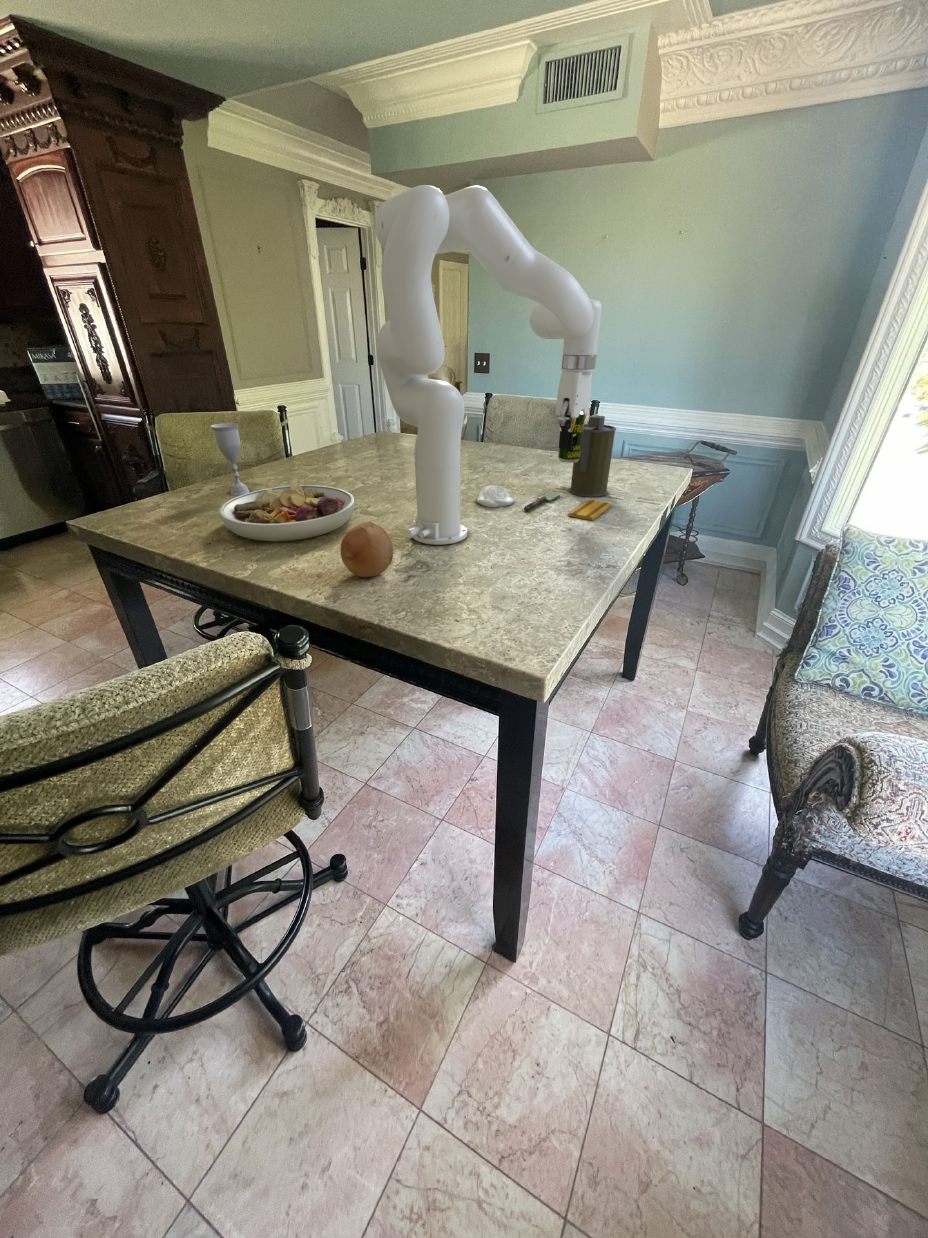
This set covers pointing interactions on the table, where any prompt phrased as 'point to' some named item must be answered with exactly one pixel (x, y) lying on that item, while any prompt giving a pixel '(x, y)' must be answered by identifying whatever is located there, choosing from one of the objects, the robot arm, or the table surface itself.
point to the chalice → (230, 450)
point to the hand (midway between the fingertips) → (570, 445)
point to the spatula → (542, 500)
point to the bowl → (288, 512)
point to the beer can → (574, 441)
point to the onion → (366, 550)
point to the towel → (590, 509)
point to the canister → (593, 459)
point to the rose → (494, 497)
